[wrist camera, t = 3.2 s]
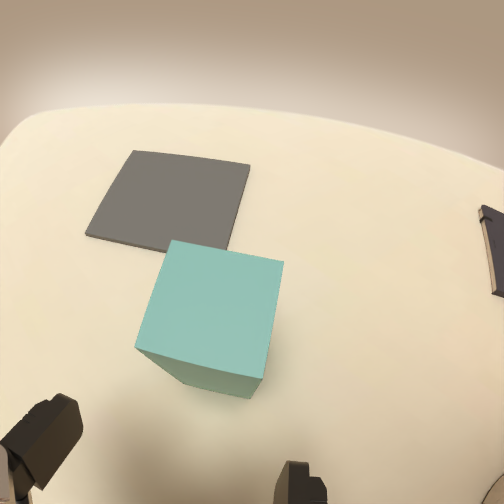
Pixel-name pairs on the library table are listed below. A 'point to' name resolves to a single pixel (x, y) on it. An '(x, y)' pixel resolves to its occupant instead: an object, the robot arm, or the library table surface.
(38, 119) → the library table surface
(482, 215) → the notebook
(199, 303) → the teal rectangular block
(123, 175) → the charcoal mat
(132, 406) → the library table surface
